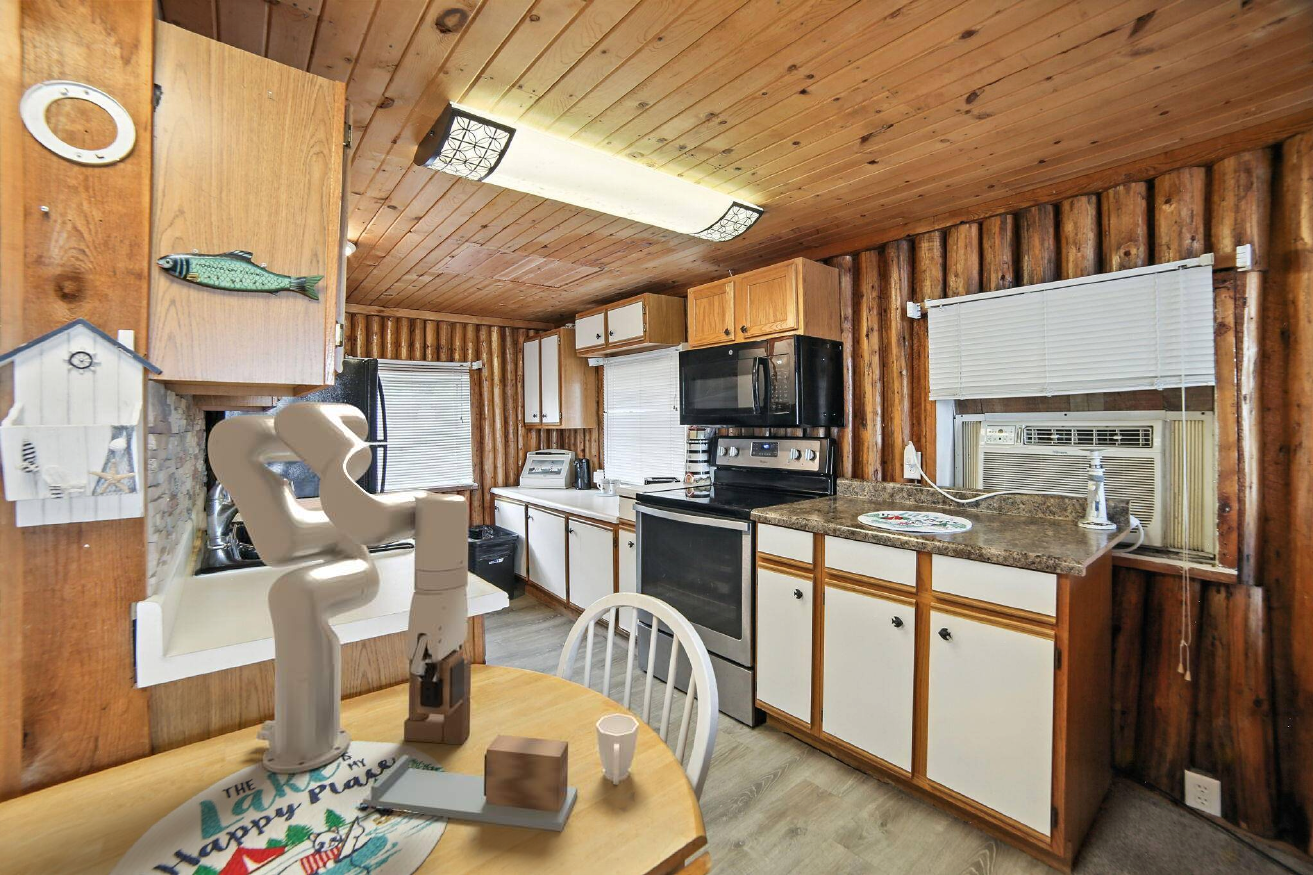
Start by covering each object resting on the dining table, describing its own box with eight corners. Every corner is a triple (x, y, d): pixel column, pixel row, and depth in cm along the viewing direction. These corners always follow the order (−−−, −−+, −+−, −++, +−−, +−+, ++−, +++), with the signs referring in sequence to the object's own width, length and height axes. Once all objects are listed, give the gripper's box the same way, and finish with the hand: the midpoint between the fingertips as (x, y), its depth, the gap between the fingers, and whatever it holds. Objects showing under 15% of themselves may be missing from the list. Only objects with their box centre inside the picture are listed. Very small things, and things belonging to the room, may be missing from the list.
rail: (363, 806, 83) (363, 785, 83) (395, 774, 91) (395, 754, 91) (561, 831, 79) (561, 808, 79) (577, 794, 87) (577, 773, 87)
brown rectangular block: (417, 712, 84) (417, 658, 84) (431, 699, 88) (432, 648, 88) (451, 715, 83) (452, 661, 83) (464, 702, 87) (465, 650, 87)
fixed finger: (483, 803, 82) (484, 748, 82) (494, 786, 86) (495, 734, 86) (558, 812, 81) (559, 756, 81) (567, 794, 85) (568, 741, 85)
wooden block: (462, 745, 99) (463, 643, 99) (403, 741, 100) (404, 640, 100) (470, 734, 103) (472, 635, 103) (413, 730, 104) (414, 633, 104)
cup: (637, 760, 96) (638, 712, 96) (638, 798, 86) (639, 745, 86) (596, 760, 96) (597, 712, 96) (592, 799, 86) (593, 746, 86)
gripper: (446, 563, 94) (444, 673, 94) (384, 591, 77) (382, 725, 78) (489, 565, 93) (487, 676, 93) (435, 595, 76) (433, 730, 77)
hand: (439, 697), depth 85 cm, fingers closed on brown rectangular block, 4 cm apart
